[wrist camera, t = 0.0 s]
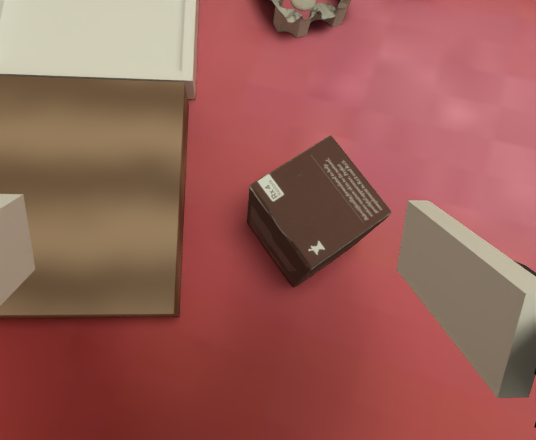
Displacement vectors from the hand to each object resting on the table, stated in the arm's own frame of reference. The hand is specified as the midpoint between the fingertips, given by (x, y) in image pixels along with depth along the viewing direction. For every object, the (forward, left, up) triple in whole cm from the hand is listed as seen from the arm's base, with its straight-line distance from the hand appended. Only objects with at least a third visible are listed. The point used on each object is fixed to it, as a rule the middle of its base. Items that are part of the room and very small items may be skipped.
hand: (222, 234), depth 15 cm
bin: (+21, +11, -15) cm, 28 cm away
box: (+4, -5, -16) cm, 17 cm away
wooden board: (+6, +10, -15) cm, 19 cm away
